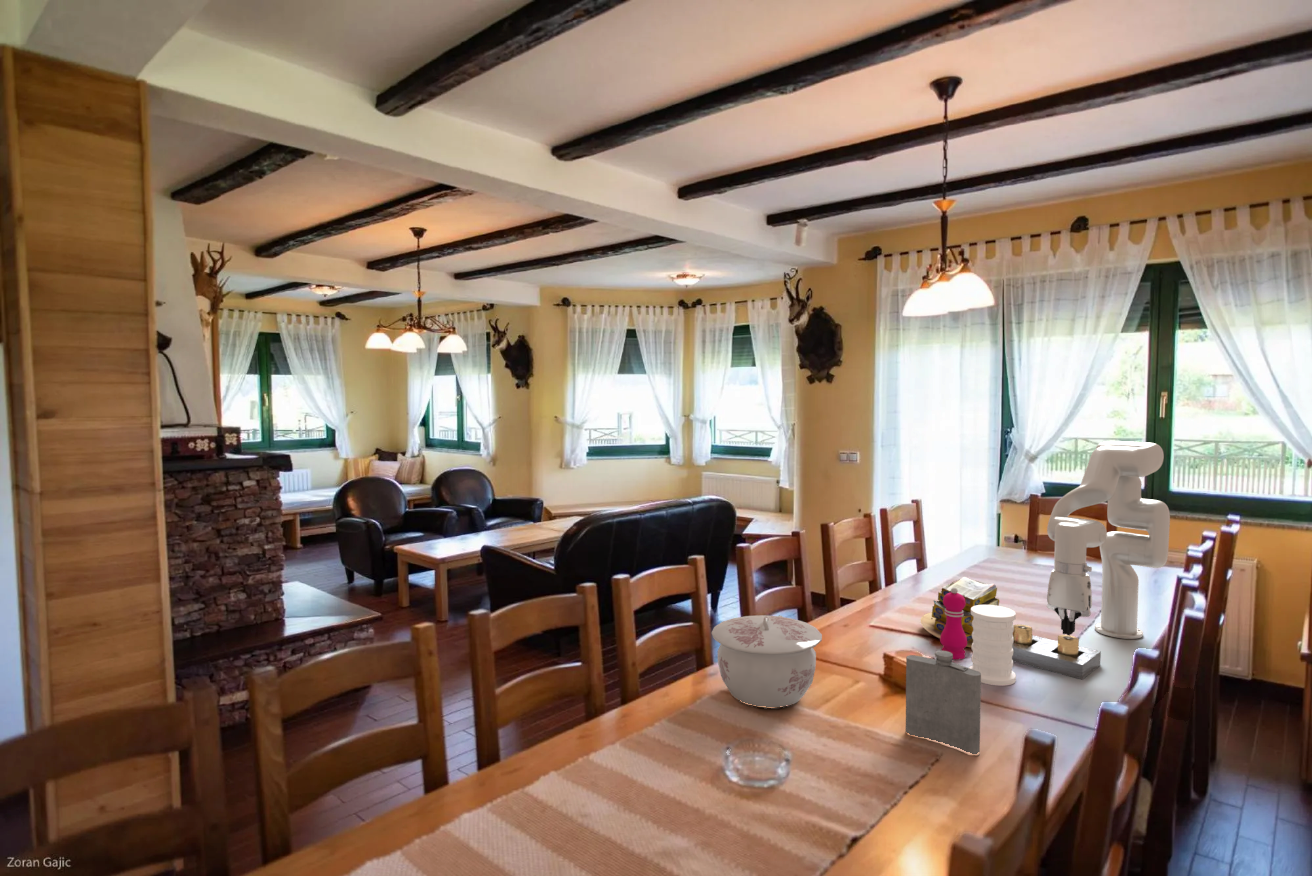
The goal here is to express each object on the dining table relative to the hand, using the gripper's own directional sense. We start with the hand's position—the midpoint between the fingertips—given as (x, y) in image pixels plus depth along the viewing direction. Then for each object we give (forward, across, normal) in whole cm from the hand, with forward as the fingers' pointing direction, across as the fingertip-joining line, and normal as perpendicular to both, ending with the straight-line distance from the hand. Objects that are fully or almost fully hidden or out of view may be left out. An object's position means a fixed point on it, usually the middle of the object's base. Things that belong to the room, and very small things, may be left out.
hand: (1067, 633), depth 198 cm
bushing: (+9, 0, 0) cm, 9 cm away
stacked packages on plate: (+10, +31, -4) cm, 33 cm away
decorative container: (+10, +11, +22) cm, 26 cm away
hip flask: (+10, +3, +65) cm, 66 cm away
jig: (+9, +6, 0) cm, 11 cm away
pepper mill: (+10, +25, +15) cm, 31 cm away
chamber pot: (+10, +44, +75) cm, 87 cm away
